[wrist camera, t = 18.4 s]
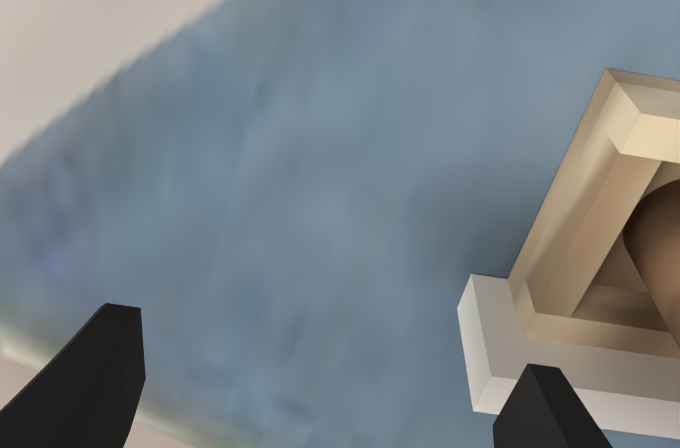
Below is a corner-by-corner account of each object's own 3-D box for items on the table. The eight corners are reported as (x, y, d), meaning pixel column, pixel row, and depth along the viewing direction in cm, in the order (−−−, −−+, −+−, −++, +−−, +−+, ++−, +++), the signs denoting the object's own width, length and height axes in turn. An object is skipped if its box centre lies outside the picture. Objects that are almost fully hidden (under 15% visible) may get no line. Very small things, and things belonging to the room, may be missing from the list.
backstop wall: (754, 316, 24) (829, 423, 20) (727, 348, 25) (792, 454, 21) (471, 273, 23) (491, 376, 19) (457, 308, 25) (473, 411, 21)
